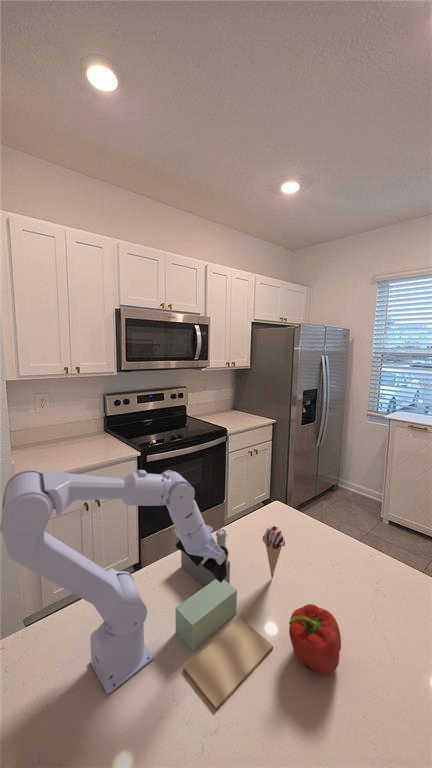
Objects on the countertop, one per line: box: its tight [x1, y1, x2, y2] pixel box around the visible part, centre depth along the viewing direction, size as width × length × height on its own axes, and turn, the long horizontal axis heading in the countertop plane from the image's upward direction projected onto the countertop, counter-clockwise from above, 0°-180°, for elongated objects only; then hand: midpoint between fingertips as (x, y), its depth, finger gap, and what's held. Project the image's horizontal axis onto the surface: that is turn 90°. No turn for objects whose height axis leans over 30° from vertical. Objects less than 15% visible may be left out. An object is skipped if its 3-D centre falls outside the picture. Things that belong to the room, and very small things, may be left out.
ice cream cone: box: [262, 525, 286, 579], centre depth 82 cm, size 6×6×15 cm
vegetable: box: [288, 603, 342, 676], centre depth 62 cm, size 11×10×10 cm
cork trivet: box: [183, 617, 274, 711], centre depth 63 cm, size 16×9×1 cm, turn 133°
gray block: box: [180, 550, 231, 588], centre depth 84 cm, size 13×6×6 cm, turn 44°
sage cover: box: [175, 579, 238, 652], centre depth 70 cm, size 13×6×6 cm, turn 133°
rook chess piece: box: [215, 528, 229, 559], centre depth 91 cm, size 4×4×8 cm
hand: (210, 569), depth 70 cm, fingers open, 7 cm apart
